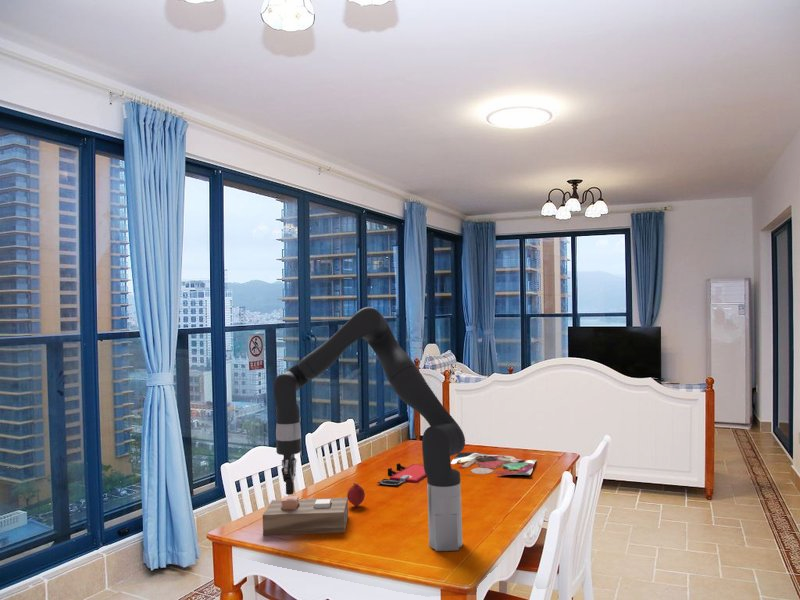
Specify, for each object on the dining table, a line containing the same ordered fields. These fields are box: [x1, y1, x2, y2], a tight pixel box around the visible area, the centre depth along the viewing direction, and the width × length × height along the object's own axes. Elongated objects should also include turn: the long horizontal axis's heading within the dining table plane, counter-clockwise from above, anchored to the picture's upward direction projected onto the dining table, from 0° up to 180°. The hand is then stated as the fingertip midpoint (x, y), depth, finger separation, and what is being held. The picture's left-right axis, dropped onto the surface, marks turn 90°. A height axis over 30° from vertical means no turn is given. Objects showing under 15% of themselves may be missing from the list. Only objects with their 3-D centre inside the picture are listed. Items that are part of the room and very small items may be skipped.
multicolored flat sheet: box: [450, 451, 537, 478], centre depth 253 cm, size 35×35×2 cm
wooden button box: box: [262, 497, 349, 536], centre depth 187 cm, size 14×24×6 cm, turn 90°
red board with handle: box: [377, 462, 427, 486], centre depth 240 cm, size 30×3×15 cm
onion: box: [346, 482, 366, 508], centre depth 204 cm, size 6×6×8 cm
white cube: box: [315, 498, 331, 508], centre depth 187 cm, size 4×4×4 cm
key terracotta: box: [281, 495, 300, 509], centre depth 187 cm, size 4×4×4 cm
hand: (290, 493), depth 187 cm, fingers closed
